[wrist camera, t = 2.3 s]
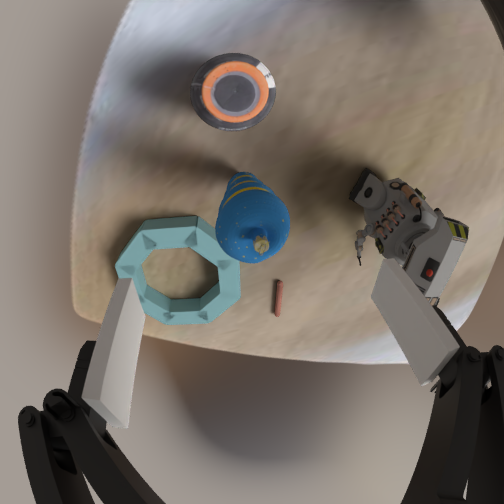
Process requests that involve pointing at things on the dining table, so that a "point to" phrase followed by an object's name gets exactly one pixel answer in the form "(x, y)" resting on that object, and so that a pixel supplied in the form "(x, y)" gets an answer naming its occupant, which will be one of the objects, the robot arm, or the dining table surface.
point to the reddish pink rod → (278, 298)
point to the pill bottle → (232, 92)
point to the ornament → (251, 220)
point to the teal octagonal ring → (177, 236)
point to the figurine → (410, 232)
